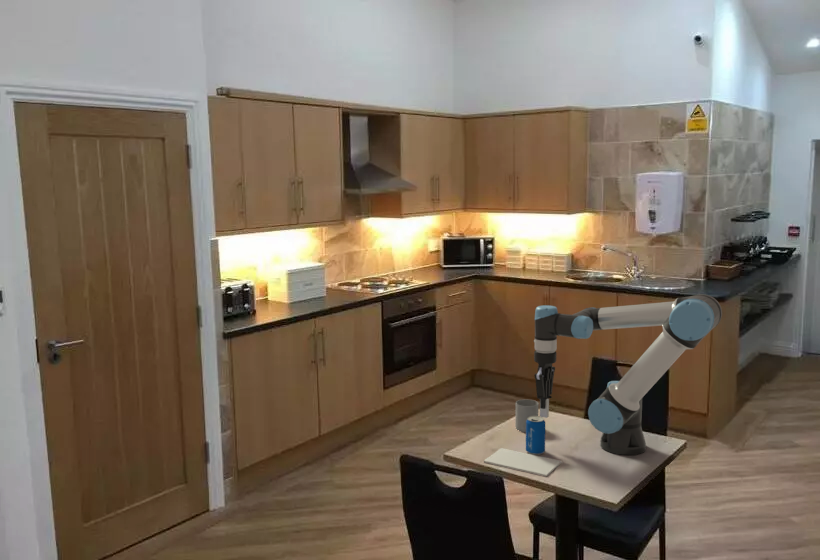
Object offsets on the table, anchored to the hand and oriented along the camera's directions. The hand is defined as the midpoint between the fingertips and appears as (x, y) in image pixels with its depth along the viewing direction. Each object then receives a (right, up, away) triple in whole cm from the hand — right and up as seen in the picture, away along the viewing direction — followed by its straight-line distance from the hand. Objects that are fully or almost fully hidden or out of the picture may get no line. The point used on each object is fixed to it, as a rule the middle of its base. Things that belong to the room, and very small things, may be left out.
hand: (544, 416), depth 250 cm
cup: (-3, -8, +18) cm, 20 cm away
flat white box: (-10, -13, -14) cm, 21 cm away
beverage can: (-4, -11, -5) cm, 13 cm away
